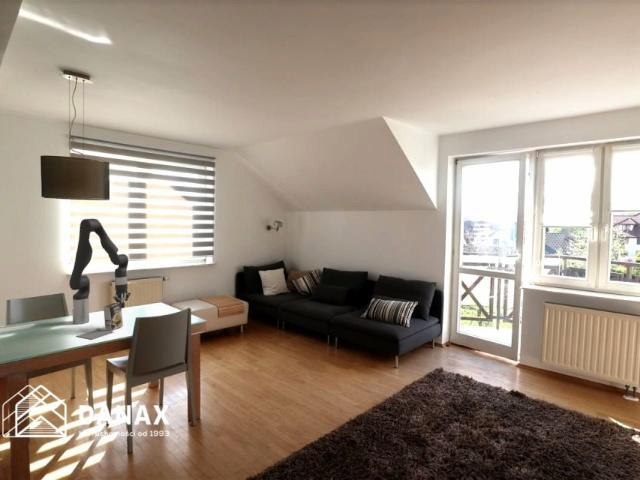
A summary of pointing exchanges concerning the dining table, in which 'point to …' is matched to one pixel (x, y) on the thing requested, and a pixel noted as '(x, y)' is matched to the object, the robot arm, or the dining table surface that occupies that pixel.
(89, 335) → the mat
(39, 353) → the dining table surface
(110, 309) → the coffee box
